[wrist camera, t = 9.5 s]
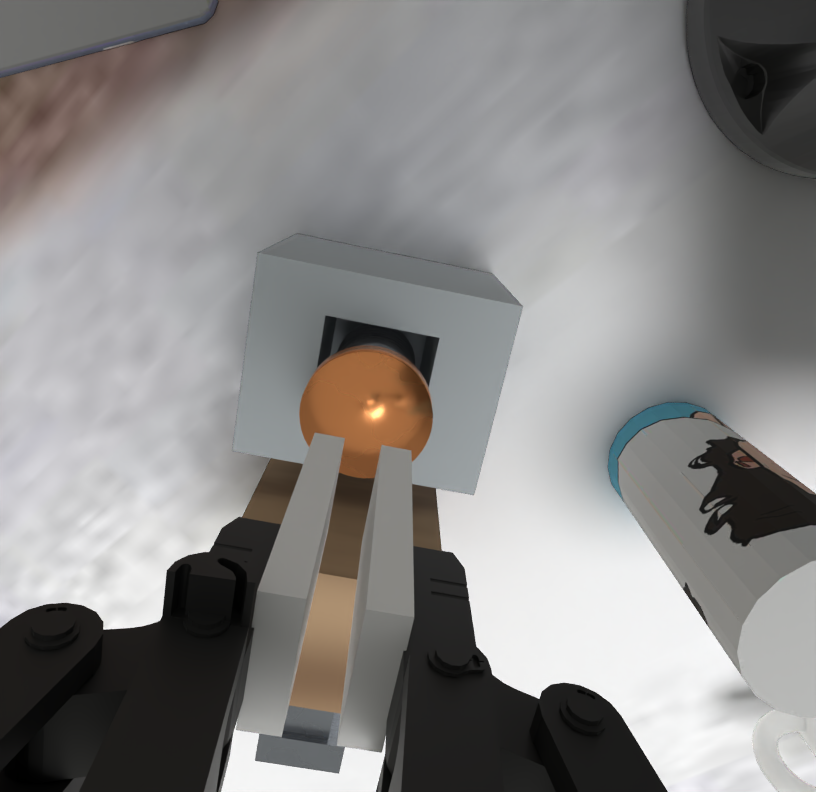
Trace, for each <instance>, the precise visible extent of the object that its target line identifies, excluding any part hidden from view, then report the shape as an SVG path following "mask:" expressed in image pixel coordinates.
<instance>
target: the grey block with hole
mask: <svg viewBox="0 0 816 792" xmlns="http://www.w3.org/2000/svg"><path fill="white" fill-rule="evenodd" d="M522 308H523V306H522V305H521V304H520V303H519V302H518V301H517V299H516V298H515V297H514V296H513V295H512V294H511V293H510V292H509V291H508V290H507V289H506V288H505V286H504V285H503V284H502V283H501V282H500V281H499V280H498V279H497V278H496V277H495V276H494V275H493V274H491V273H486V272H481V271H477V270H472V269H467V268H462V267H457V266H452V265H447V264H442V263H438V262H433V261H428V260H423V259H418V258H413V257H408V256H403V255H399V254H394V253H389V252H384V251H379V250H374V249H369V248H365V247H360V246H355V245H350V244H345V243H340V242H335V241H330V240H326V239H321V238H316V237H311V236H306V235H301V234H295V235H293V236H291V237H289V238H287V239H285V240H283V241H281V242H278V243H276V244H274V245H272V246H270V247H268V248H266V249H264V250H262V251H260V252H258V253H257V261H256V269H255V276H254V284H253V292H252V300H251V308H250V315H249V323H248V331H247V339H246V347H245V355H244V362H243V370H242V378H241V386H240V394H239V402H238V409H237V417H236V425H235V433H234V441H233V449H232V451H235V452H240V453H246V454H251V455H257V456H262V457H268V458H273V459H279V460H284V461H290V462H295V463H301V464H304V461H305V458H306V455H307V453H308V450H309V446H308V445H307V443H306V441H305V439H304V436H303V433H302V430H301V426H300V418H299V410H300V403H301V399H302V395H303V393H304V390H305V388H306V386H307V384H308V382H309V380H310V378H311V376H312V374H313V373H314V371H315V370H316V369H317V368H318V366H319V365H320V364H321V363H322V362H323V361H324V360H326V359H327V358H328V357H330V356H331V355H333V354H335V353H337V350H338V348H339V345H340V343H341V342H342V340H343V339H344V337H345V336H346V335H347V334H348V333H349V332H350V331H352V330H353V329H355V328H356V327H358V326H361V325H364V324H372V325H377V326H382V327H387V328H392V329H397V330H399V331H400V332H402V333H403V334H404V335H405V336H406V338H407V339H408V340H409V342H410V344H411V345H412V348H413V351H414V355H415V366H416V367H417V369H418V370H419V371H420V372H421V374H422V375H423V377H424V379H425V380H426V383H427V385H428V387H429V391H430V395H431V401H432V410H433V424H432V430H431V433H430V437H429V439H428V441H427V443H426V445H425V447H424V449H423V450H422V452H421V453H420V454H419V455H418V457H417V458H416V459H415V460H414V461H413V462H412V484H416V485H421V486H427V487H432V488H437V489H443V490H448V491H454V492H459V493H465V494H470V495H474V493H475V490H476V486H477V482H478V478H479V474H480V470H481V466H482V463H483V459H484V455H485V451H486V447H487V443H488V439H489V436H490V432H491V428H492V424H493V420H494V416H495V412H496V408H497V405H498V401H499V397H500V393H501V389H502V385H503V381H504V378H505V374H506V370H507V366H508V362H509V358H510V354H511V351H512V347H513V343H514V339H515V335H516V331H517V327H518V324H519V320H520V316H521V312H522Z"/></svg>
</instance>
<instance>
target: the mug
mask: <svg viewBox="0 0 816 792" xmlns="http://www.w3.org/2000/svg"><path fill="white" fill-rule="evenodd" d="M793 732H798V733H799V734H800V736H801V737H802V738H803V740H804V741H805V743H806V744H807V746H808V747H809V748H810V750H811V751H812V753H813V754H814V755H815V757H816V718H801V717H798V716H794V715H791V714H787V713H784V712H780V711H777V710H775V709H774V710H772V711H770V712H768V713H766V714H765V715H764V716H762V717H761V718H760V720H759V721H758V722H757V724H756V726H755V728H754V731H753V736H752V745H753V751H754V754H755V757H756V761H757V763H758V765H759V767H760V769H761V771H762V772H763V774H764V775H765V777H766V778H767V780H768V781H769V782H770V783H771V784H772V786H773V787H774V788H775V789H776V790H777V791H778V792H816V787H814V786H812V785H810V784H808V783H806V782H805V781H803V780H802V779H800V778H799V777H798V776H797V775H795V774H794V773H793V772H792V771H791V770H790V769H789V768H788V767H787V765H786V764H785V763H784V761H783V760H782V758H781V756H780V754H779V751H778V747H777V745H778V740H779V739H780V737H782V736H783V735H785V734H789V733H793Z"/></svg>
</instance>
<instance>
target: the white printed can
mask: <svg viewBox="0 0 816 792" xmlns="http://www.w3.org/2000/svg"><path fill="white" fill-rule="evenodd" d="M608 470H609V475H610V479H611V483H612V485H613V487H614V488H615V490H616V491H617V492H618V494H619V495H620V497H621V498H622V500H623V501H624V503H625V504H626V506H627V507H628V509H629V510H630V512H631V513H632V515H633V516H634V518H635V519H636V521H637V522H638V524H639V525H640V526H641V528H642V529H643V531H644V532H645V534H646V535H647V537H648V538H649V540H650V541H651V543H652V544H653V546H654V547H655V549H656V550H657V552H658V553H659V555H660V556H661V557H662V559H663V560H664V562H665V563H666V565H667V566H668V568H669V569H670V571H671V572H672V574H673V575H674V577H675V578H676V580H677V581H678V583H679V584H680V586H681V587H682V589H683V590H684V591H685V593H686V594H687V596H688V597H689V599H690V600H691V602H692V603H693V605H694V606H695V608H696V609H697V611H698V612H699V614H700V615H701V617H702V618H703V620H704V621H705V622H706V624H707V625H708V627H709V628H710V630H711V631H712V633H713V634H714V636H715V637H716V639H717V640H718V642H719V643H720V645H721V646H722V648H723V649H724V651H725V652H726V654H727V655H728V656H729V658H730V659H731V661H732V662H733V664H734V665H735V667H736V668H737V670H738V671H739V673H740V674H741V676H742V677H743V679H744V680H745V682H746V683H747V685H748V686H749V687H750V689H751V690H752V692H753V693H754V695H755V696H756V697H757V698H759V699H760V700H762V701H763V702H765V703H766V704H768V705H769V706H771V707H772V708H774V709H775V710H777V711H780V712H784V713H787V714H791V715H794V716H798V717H801V718H816V494H815V493H814V492H813V491H811V490H810V489H809V488H808V487H806V486H805V485H804V484H802V483H801V482H800V481H798V480H797V479H796V478H794V477H793V476H792V475H791V474H789V473H788V472H787V471H785V470H784V469H783V468H781V467H780V466H779V465H777V464H776V463H775V462H774V461H772V460H771V459H770V458H768V457H767V456H766V455H764V454H763V453H762V452H760V451H759V450H758V449H757V448H755V447H754V446H753V445H751V444H750V443H749V442H747V441H746V440H745V439H743V438H742V437H741V436H740V435H738V434H737V433H736V432H734V431H733V430H732V429H730V428H729V427H728V426H726V425H725V424H724V423H723V422H721V421H720V420H719V419H717V418H716V417H715V416H713V415H712V414H711V413H710V412H708V411H707V410H706V409H704V408H701V407H698V406H695V405H692V404H689V403H664V404H660V405H657V406H653V407H650V408H647V409H646V410H644V411H642V412H641V413H639V414H638V415H636V416H634V417H633V418H631V419H630V420H629V421H628V422H627V423H626V425H625V426H624V427H623V428H622V429H621V430H620V431H619V432H618V434H617V436H616V438H615V440H614V442H613V444H612V447H611V449H610V453H609V462H608Z"/></svg>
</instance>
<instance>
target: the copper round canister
mask: <svg viewBox="0 0 816 792" xmlns="http://www.w3.org/2000/svg"><path fill="white" fill-rule="evenodd" d="M299 418H300V426H301V430H302V433H303V436H304V439H305V441H306V443H307V445H308V446H309V447H310V444H311V442H312V439H313V436H314V433H320V434H325V435H331V436H336V437H342V438H345V441H344V446H343V452H342V457H341V463H340V468H339V473H342V474H344V475H347V476H352V477H357V478H375V475H376V470H377V465H378V460H379V455H380V450H381V445H385V446H390V447H395V448H401V449H406V450H411V454H412V462H413V461H414V460H415V459H416V458H417V457H418V455H419V454H420V453H421V452H422V450H423V449H424V447H425V445H426V443H427V441H428V439H429V437H430V433H431V430H432V424H433V410H432V401H431V395H430V391H429V387H428V385H427V383H426V380H425V379H424V377H423V375H422V374H421V372H420V371H419V370H418V369H417V367H416V366H415V355H414V351H413V348H412V345H411V344H410V342H409V340H408V339H407V338H406V336H405V335H404V334H403V333H402V332H400V331H399V330H397V329H392V328H387V327H382V326H377V325H372V324H364V325H361V326H358V327H356V328H355V329H353V330H352V331H350V332H349V333H348V334H347V335H346V336H345V337H344V339H343V340H342V342H341V343H340V345H339V348H338V350H337V353H335V354H333V355H331V356H330V357H328V358H327V359H326V360H324V361H323V362H322V363H321V364H320V365H319V366H318V368H317V369H316V370H315V371H314V373H313V374H312V376H311V378H310V380H309V382H308V384H307V386H306V388H305V390H304V393H303V395H302V399H301V403H300V410H299Z"/></svg>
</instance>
